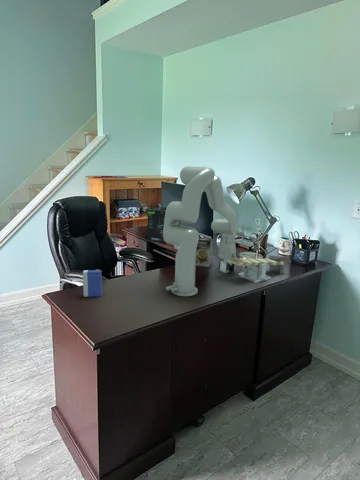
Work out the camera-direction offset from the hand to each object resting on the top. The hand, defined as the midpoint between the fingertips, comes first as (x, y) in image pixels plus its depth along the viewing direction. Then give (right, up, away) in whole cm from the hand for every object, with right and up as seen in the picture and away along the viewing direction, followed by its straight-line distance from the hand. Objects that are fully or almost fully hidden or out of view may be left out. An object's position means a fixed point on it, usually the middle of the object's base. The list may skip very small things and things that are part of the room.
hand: (226, 269), depth 193 cm
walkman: (-66, -9, -39) cm, 77 cm away
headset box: (-39, +16, +68) cm, 80 cm away
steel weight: (0, -1, 0) cm, 1 cm away
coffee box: (-13, +2, +11) cm, 17 cm away
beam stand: (+20, -3, -4) cm, 20 cm away
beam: (+15, +3, -9) cm, 18 cm away
